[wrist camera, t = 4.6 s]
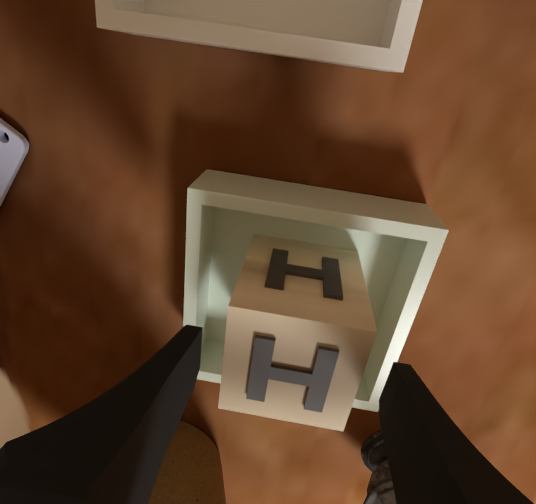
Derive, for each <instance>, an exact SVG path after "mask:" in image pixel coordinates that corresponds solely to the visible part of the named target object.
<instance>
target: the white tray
mask: <svg viewBox="0 0 536 504" xmlns="http://www.w3.org/2000/svg"><path fill="white" fill-rule="evenodd" d="M422 1H423V0H95V9H96V23H97V28H102V29H107V30H112V31H117V32H123V33H128V34H133V35H140V36H146V37H153V38H160V39H167V40H174V41H181V42H187V43H194V44H201V45H208V46H215V47H221V48H228V49H235V50H242V51H249V52H256V53H262V54H269V55H276V56H283V57H290V58H297V59H303V60H310V61H317V62H324V63H331V64H338V65H344V66H351V67H358V68H365V69H372V70H379V71H385V72H404V68H405V64H406V61H407V57H408V53H409V49H410V46H411V42H412V38H413V35H414V31H415V27H416V24H417V20H418V16H419V12H420V9H421V5H422Z"/></svg>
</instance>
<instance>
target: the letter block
mask: <svg viewBox="0 0 536 504" xmlns="http://www.w3.org/2000/svg"><path fill="white" fill-rule="evenodd" d="M376 334H377V328H376V324H375V320H374V316H373V312H372V308H371V304H370V300H369V295H368V291H367V287H366V283H365V279H364V275H363V271H362V267H361V263H360V258H359V254H358V251H354V250H348V249H342V248H336V247H330V246H324V245H318V244H312V243H306V242H300V241H294V240H288V239H282V238H276V237H270V236H264V235H258V234H254V235H253V238H252V241H251V244H250V247H249V249H248V252H247V255H246V258H245V261H244V263H243V266H242V269H241V272H240V275H239V277H238V280H237V283H236V286H235V288H234V291H233V294H232V297H231V300H230V302H229V305H228V314H227V324H226V334H225V344H224V354H223V365H222V375H221V385H220V395H219V405H218V408H219V409H225V410H230V411H236V412H241V413H246V414H252V415H257V416H262V417H268V418H273V419H279V420H284V421H289V422H295V423H300V424H306V425H311V426H316V427H322V428H327V429H333V430H338V431H344V428H345V425H346V422H347V419H348V417H349V414H350V411H351V408H352V405H353V402H354V399H355V396H356V393H357V390H358V387H359V384H360V381H361V378H362V375H363V373H364V370H365V367H366V364H367V361H368V358H369V355H370V352H371V349H372V346H373V343H374V340H375V337H376Z"/></svg>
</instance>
